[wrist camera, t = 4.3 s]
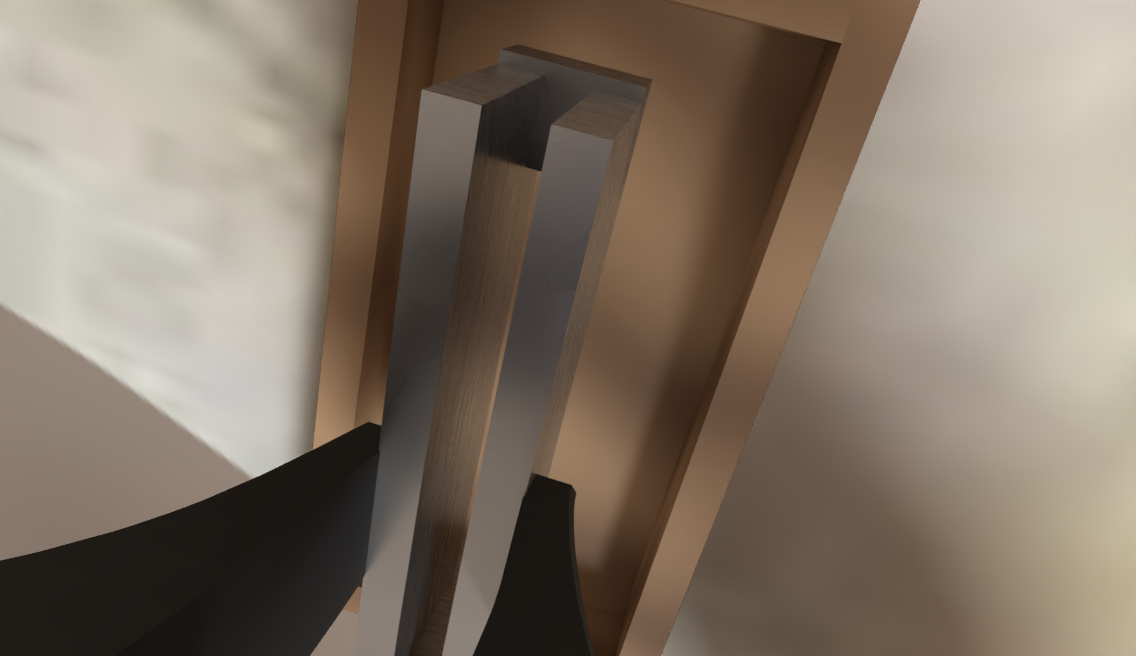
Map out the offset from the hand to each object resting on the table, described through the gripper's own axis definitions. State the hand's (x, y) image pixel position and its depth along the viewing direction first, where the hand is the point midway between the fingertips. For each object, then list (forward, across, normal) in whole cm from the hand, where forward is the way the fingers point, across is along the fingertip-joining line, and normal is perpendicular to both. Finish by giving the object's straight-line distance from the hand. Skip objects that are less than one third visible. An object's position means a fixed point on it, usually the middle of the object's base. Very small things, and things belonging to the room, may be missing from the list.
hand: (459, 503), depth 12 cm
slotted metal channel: (+3, 0, 0) cm, 3 cm away
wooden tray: (+8, 0, 0) cm, 8 cm away
